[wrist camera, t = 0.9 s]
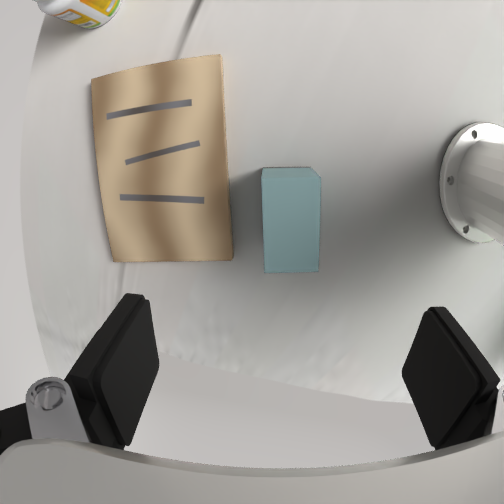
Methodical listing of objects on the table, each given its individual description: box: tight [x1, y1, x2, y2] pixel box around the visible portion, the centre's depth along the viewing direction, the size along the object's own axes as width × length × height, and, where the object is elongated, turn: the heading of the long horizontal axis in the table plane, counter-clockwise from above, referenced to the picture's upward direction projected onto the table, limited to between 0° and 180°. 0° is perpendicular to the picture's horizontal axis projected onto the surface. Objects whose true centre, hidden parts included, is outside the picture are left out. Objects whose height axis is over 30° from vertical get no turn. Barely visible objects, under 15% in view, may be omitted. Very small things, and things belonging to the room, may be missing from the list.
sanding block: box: [261, 167, 321, 273], centre depth 24 cm, size 7×4×6 cm, turn 2°
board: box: [91, 54, 234, 262], centre depth 26 cm, size 12×18×1 cm, turn 3°
